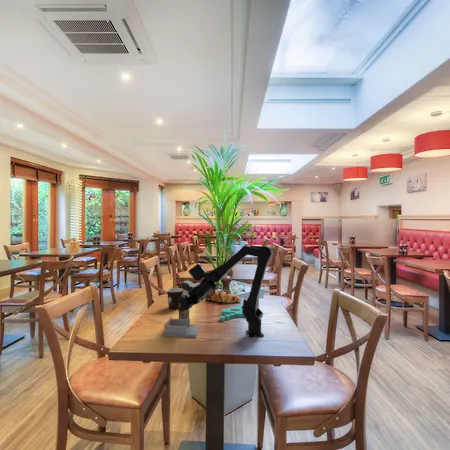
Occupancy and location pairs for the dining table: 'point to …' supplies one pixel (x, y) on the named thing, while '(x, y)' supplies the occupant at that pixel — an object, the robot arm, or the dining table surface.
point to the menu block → (183, 313)
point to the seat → (180, 328)
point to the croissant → (225, 297)
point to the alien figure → (231, 313)
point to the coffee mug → (174, 297)
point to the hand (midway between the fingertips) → (181, 309)
